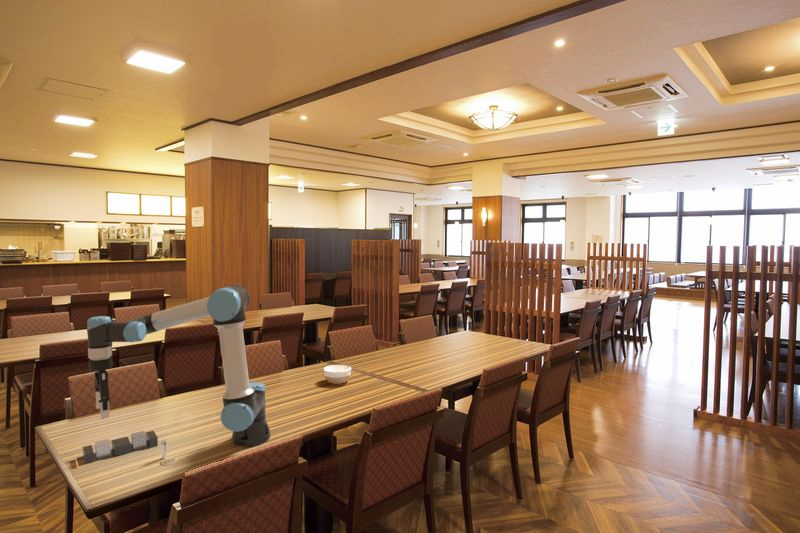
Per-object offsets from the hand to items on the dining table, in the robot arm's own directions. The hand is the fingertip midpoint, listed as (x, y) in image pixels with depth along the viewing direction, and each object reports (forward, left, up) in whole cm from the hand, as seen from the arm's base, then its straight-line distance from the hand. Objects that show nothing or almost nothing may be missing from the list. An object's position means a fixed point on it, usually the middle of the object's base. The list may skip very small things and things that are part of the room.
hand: (102, 413), depth 175 cm
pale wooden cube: (0, 0, -16) cm, 16 cm away
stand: (-19, -18, -17) cm, 31 cm away
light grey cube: (0, -12, -16) cm, 20 cm away
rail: (0, -6, -17) cm, 18 cm away
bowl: (+24, -118, -17) cm, 121 cm away
